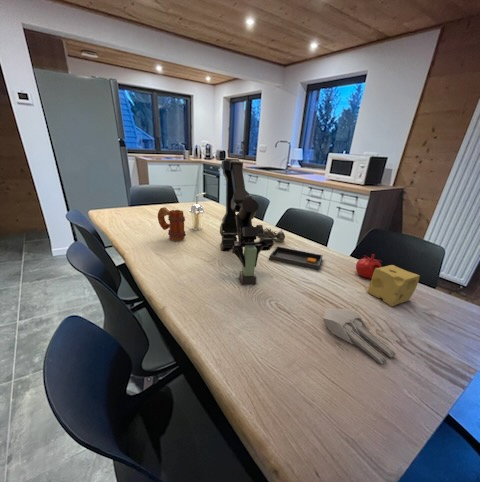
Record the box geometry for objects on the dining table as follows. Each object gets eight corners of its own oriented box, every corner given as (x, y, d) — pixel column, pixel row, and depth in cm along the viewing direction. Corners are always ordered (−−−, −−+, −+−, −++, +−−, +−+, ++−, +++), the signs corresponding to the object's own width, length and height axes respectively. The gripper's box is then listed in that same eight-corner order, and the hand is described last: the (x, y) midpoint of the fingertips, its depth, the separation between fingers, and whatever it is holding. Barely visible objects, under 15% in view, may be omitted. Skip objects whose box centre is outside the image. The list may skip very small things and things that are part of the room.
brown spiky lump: (290, 240, 133) (268, 223, 128) (276, 255, 137) (254, 240, 132) (285, 232, 143) (264, 216, 138) (272, 246, 147) (251, 232, 142)
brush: (242, 284, 94) (245, 250, 88) (239, 278, 98) (242, 244, 92) (255, 284, 95) (259, 250, 89) (251, 277, 100) (255, 244, 93)
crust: (306, 263, 114) (307, 260, 114) (307, 260, 117) (308, 257, 117) (314, 264, 113) (315, 261, 113) (315, 262, 116) (316, 258, 116)
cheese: (392, 307, 87) (402, 280, 83) (365, 291, 96) (373, 267, 91) (411, 301, 92) (421, 275, 88) (383, 287, 100) (392, 263, 96)
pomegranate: (350, 274, 108) (355, 253, 104) (359, 268, 115) (364, 248, 111) (374, 283, 103) (382, 261, 98) (382, 276, 109) (389, 255, 105)
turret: (372, 374, 63) (381, 361, 60) (313, 319, 76) (318, 307, 74) (394, 359, 68) (403, 346, 66) (335, 310, 81) (340, 298, 79)
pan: (268, 260, 115) (269, 255, 114) (276, 251, 127) (277, 246, 125) (318, 271, 109) (319, 265, 108) (321, 260, 120) (322, 255, 119)
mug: (189, 238, 134) (189, 209, 128) (181, 243, 127) (180, 212, 121) (164, 233, 138) (163, 205, 132) (155, 238, 131) (153, 208, 125)
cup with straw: (189, 226, 153) (189, 190, 145) (205, 226, 155) (205, 191, 146) (188, 230, 146) (188, 193, 137) (205, 231, 147) (205, 194, 138)
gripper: (223, 215, 88) (227, 259, 83) (275, 216, 92) (282, 257, 87) (218, 231, 98) (222, 270, 93) (266, 230, 102) (272, 268, 98)
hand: (249, 266), depth 93 cm, fingers closed on brush, 3 cm apart
